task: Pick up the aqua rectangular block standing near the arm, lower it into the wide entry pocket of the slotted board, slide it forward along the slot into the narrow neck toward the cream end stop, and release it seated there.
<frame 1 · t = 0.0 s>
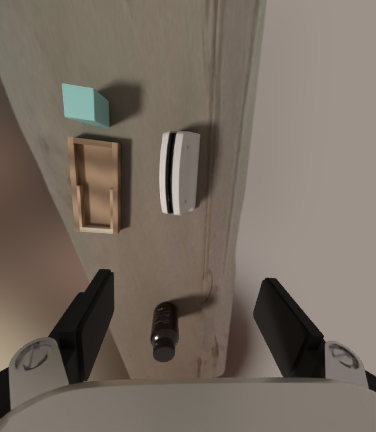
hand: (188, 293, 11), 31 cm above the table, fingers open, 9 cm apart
white piece: (179, 173, 40), on the table
slot board: (99, 187, 39), on the table
aqua rectangular block: (96, 112, 35), on the table
supplement bottle: (166, 310, 51), on the table
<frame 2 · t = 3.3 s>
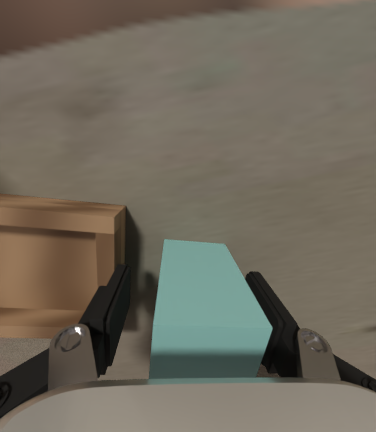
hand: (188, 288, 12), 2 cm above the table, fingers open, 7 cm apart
aqua rectangular block: (191, 267, 14), on the table
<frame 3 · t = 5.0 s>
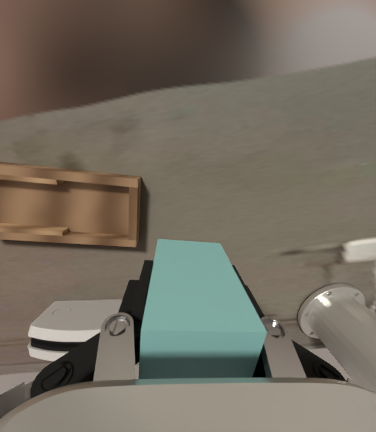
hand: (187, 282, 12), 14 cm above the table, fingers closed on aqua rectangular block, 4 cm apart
white piece: (109, 303, 30), on the table
slot board: (66, 203, 24), on the table
aqua rectangular block: (186, 268, 14), point 13 cm above the table, touching gripper
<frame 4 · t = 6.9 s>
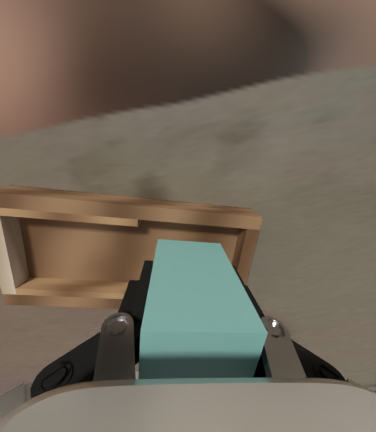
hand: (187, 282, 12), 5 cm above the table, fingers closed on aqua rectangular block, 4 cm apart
slot board: (136, 247, 16), on the table
aqua rectangular block: (186, 268, 14), point 3 cm above the table, touching gripper
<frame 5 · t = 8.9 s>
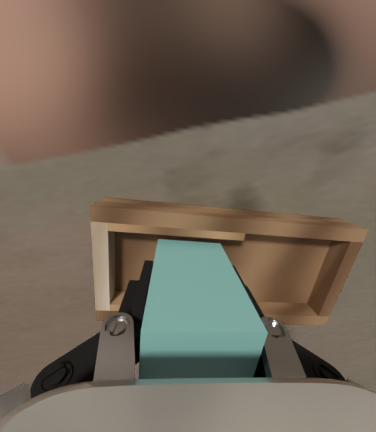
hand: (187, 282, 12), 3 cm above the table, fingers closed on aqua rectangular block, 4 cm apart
slot board: (220, 258, 15), on the table
aqua rectangular block: (186, 268, 14), point 2 cm above the table, touching gripper
when the fingers open (3 cm above the table, at t = 10.2 s): aqua rectangular block stays where it is, resting on slot board.
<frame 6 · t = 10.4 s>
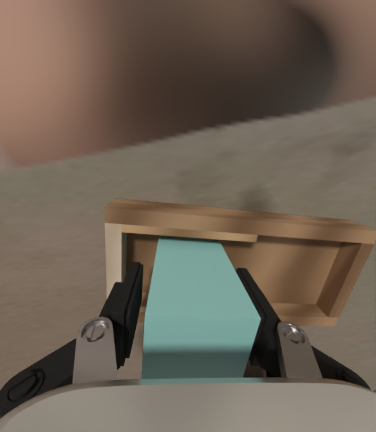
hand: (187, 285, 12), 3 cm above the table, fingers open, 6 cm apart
slot board: (230, 259, 16), on the table
aqua rectangular block: (186, 263, 14), point 1 cm above the table, touching slot board
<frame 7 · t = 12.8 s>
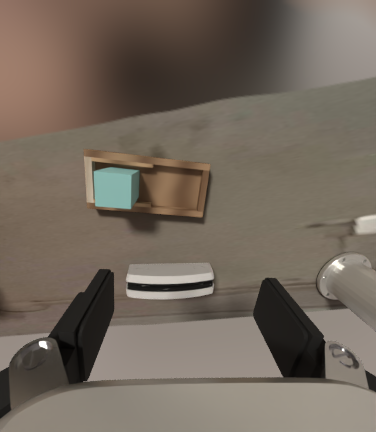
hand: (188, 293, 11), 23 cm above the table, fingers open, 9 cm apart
white piece: (170, 267, 38), on the table
slot board: (150, 184, 31), on the table
aqua rectangular block: (125, 182, 30), point 1 cm above the table, touching slot board
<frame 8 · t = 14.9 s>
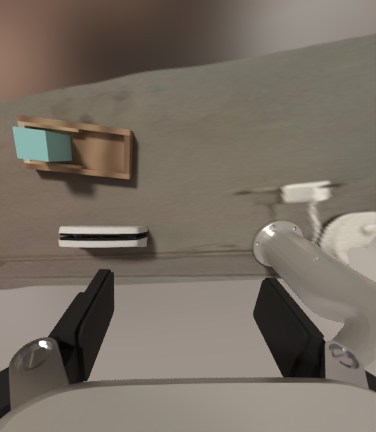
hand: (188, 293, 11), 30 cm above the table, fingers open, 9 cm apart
white piece: (111, 230, 42), on the table
slot board: (83, 149, 36), on the table
aqua rectangular block: (58, 146, 34), point 1 cm above the table, touching slot board
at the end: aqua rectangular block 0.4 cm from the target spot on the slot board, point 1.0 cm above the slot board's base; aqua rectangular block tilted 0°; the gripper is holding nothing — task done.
